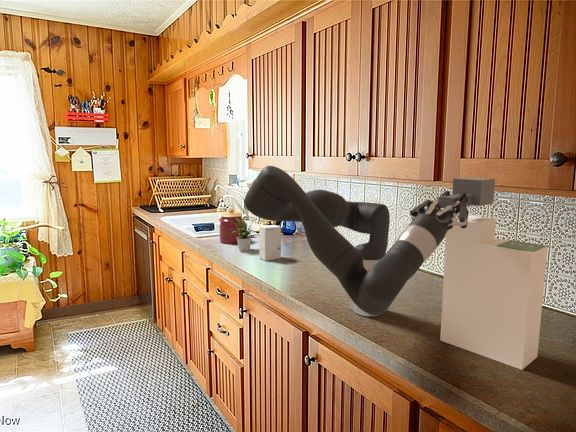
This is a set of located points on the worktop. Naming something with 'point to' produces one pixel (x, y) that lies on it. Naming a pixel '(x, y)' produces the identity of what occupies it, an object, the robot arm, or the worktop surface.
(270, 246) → the skincare box
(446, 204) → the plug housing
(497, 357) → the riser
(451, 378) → the worktop surface
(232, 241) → the canister
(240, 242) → the house plant
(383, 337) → the worktop surface
